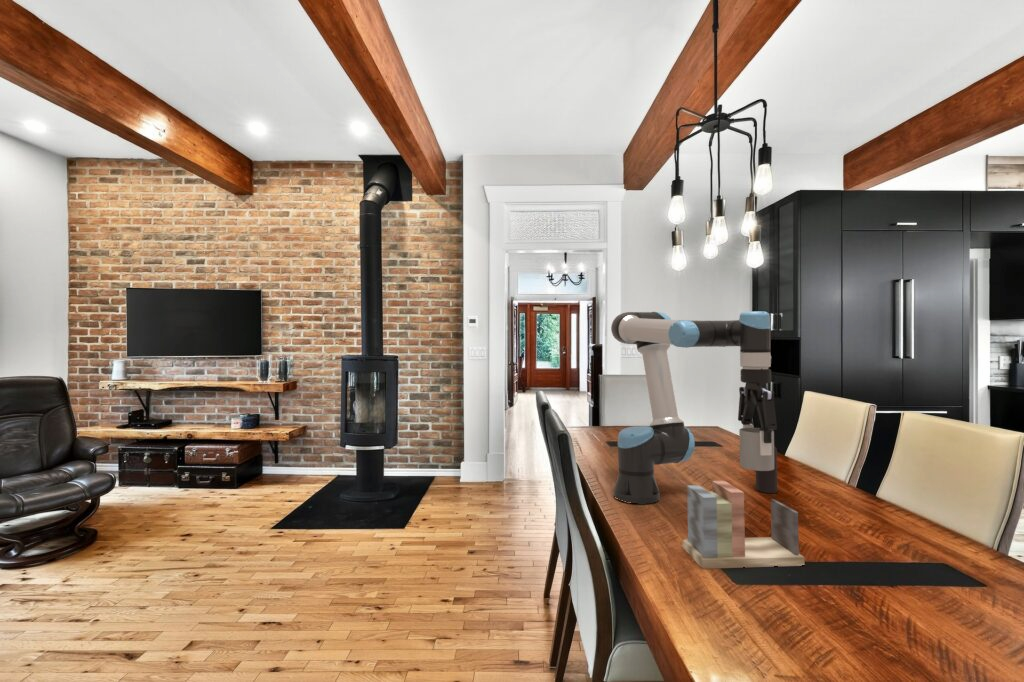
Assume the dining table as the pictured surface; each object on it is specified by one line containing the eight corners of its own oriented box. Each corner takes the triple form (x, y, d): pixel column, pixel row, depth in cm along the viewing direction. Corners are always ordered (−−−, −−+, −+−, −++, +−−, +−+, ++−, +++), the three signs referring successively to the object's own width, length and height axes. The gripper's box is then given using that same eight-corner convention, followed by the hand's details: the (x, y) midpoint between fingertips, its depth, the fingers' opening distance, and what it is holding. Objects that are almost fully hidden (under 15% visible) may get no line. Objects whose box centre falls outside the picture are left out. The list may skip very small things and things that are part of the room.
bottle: (781, 491, 171) (780, 433, 172) (771, 494, 168) (770, 435, 168) (762, 486, 177) (761, 430, 177) (751, 490, 173) (750, 433, 173)
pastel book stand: (682, 547, 126) (681, 480, 126) (775, 544, 127) (774, 478, 127) (702, 568, 114) (701, 494, 114) (804, 565, 115) (803, 492, 115)
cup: (760, 472, 129) (760, 434, 129) (733, 465, 136) (732, 429, 136) (781, 468, 133) (780, 431, 133) (753, 461, 140) (753, 426, 140)
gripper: (792, 369, 125) (793, 460, 124) (749, 366, 146) (750, 443, 145) (763, 370, 124) (764, 460, 124) (724, 366, 145) (725, 443, 145)
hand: (756, 451), depth 135 cm, fingers closed on cup, 8 cm apart
